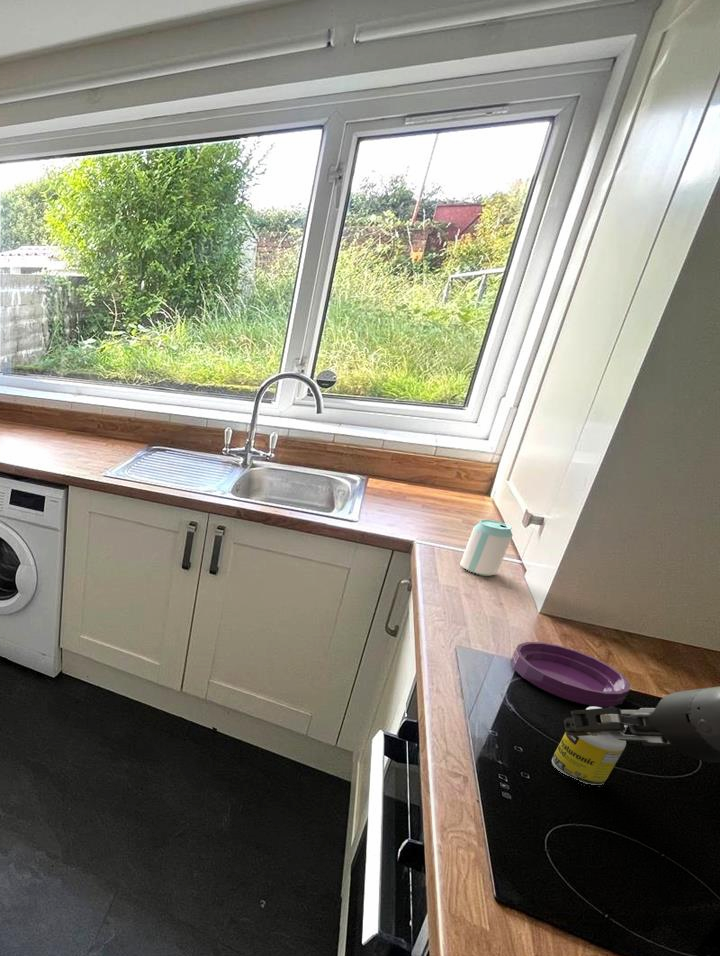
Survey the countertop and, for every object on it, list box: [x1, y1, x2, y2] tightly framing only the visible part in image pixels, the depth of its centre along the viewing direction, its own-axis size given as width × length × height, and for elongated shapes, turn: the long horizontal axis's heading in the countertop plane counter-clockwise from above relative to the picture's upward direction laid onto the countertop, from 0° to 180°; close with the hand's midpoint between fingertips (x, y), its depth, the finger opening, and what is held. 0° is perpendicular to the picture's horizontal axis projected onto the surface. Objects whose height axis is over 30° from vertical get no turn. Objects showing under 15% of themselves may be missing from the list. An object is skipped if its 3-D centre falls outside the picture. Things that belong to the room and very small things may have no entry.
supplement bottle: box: [551, 705, 629, 786], centre depth 78 cm, size 5×5×10 cm
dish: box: [509, 641, 631, 708], centre depth 98 cm, size 14×14×3 cm
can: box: [459, 519, 513, 577], centre depth 136 cm, size 7×7×12 cm
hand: (605, 732), depth 76 cm, fingers open, 8 cm apart
